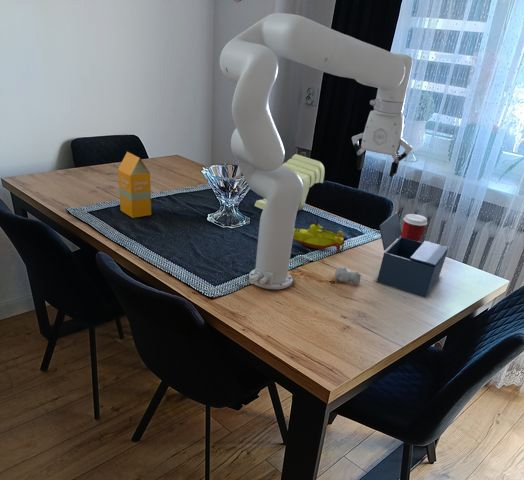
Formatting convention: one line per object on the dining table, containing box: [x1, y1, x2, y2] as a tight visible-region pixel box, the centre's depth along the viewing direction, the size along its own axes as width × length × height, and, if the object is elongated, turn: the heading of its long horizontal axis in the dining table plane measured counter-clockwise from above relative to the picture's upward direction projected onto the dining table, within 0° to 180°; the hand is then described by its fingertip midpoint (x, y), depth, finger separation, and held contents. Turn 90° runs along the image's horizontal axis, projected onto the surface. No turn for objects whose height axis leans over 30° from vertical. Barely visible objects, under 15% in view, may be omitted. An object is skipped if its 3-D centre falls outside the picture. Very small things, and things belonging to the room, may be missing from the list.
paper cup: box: [400, 213, 428, 242], centre depth 164 cm, size 8×8×14 cm
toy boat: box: [293, 218, 346, 253], centre depth 164 cm, size 6×18×10 cm, turn 78°
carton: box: [376, 236, 449, 298], centre depth 150 cm, size 17×15×10 cm
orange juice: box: [117, 151, 152, 219], centre depth 172 cm, size 8×9×20 cm
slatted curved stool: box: [254, 153, 326, 211], centre depth 192 cm, size 30×16×18 cm, turn 136°
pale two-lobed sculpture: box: [334, 266, 361, 286], centre depth 146 cm, size 4×8×5 cm
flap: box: [378, 211, 402, 252], centre depth 149 cm, size 17×7×1 cm
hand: (375, 172), depth 143 cm, fingers open, 9 cm apart
